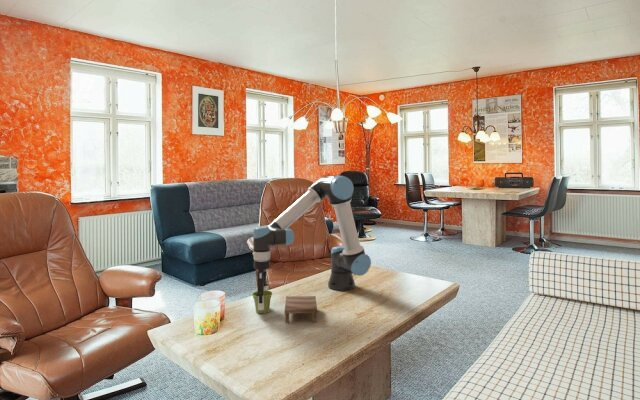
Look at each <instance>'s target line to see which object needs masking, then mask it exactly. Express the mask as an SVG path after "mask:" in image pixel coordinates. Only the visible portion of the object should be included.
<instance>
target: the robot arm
mask: <svg viewBox="0 0 640 400" xmlns="http://www.w3.org/2000/svg"><path fill="white" fill-rule="evenodd" d="M306 190H307V191H306V192H305V193H303V195H302V196H300V197H299V198H298V199H297V200H296V201H294V203H292V204H291V205H290V206H289V207H288V208H287V209H286V210H284V211H283V212H282V213H281V214H280V215H279V216H278V217H277V218H275V219H274V220H272V222H270V223H269V224H266V225H261V226H259V225H258V226H255V227H254V228H253V230H252V231H253V233H252V239H253V242H252V243H253V252H252V256H253V260H254V261H253V269H254V270H257V294H256V296H258V310H264V291H267V287H268V286H269V283H268V282H267V270H269V269H270V267H271V247H277V246H288V245H292V244H293V243H294V241H295V234H294V231H293V230H292V229H291V228H289V227H290V226H292V224H294V223H295V222H296V221H297V220H299V218H300V217H302V216H303V215H304V214H305V213H306V212H307V211H308V210H309V209H311V208H312V207H313V206H314V205H315V204H316V203H320V202H321V201H323V200H325V199H327V198H328V201H329V202H328V203H329V205H331V206H333V209H334V213H335V217H336V221H337V224H338V228H339V233H340V238H341V241H342V245H338V246H334V247H331V250H330V257H331V258H330V259H331V260H330V261H331V263H330V266H331V268H330V272H331V273H330V275H329V279H328V281H327V283H328V284H327V287H328V288H329V289H331V290H334V291H350V290H353V289H355V287H356V282H355V279H354V276H363V275H365V274H367V273H368V272H369V269H370V268H371V265H372V259H371V258H370V256H369V255H368V254H366V252H365V251H366V250H365V247H364V246H363V245H361V243H360V240H359V235H358V232H357V231H358V230H357V227H356V222H355V219H354V214H353V210H352V205H351V202H352V199H353V197H352V196H353V193H354V191H355V190H354V183H353V181H352V180H351V179H350V178H349V177H347V176H343V175H328V174H327V175H324V176H322V177H319V179H317V180H316V181H315V182H313V183H312V184H311V185H310V186H309V187H307V189H306Z"/></svg>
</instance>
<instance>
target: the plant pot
mask: <svg viewBox="0 0 640 400" xmlns="http://www.w3.org/2000/svg"><path fill="white" fill-rule="evenodd" d="M257 291H258V290H257ZM257 291H254V292H252V293H251V295H252V298H253V300H254V301H253V302H254V306H255V313H257V314H267V313H269V311H270V306H271V298H272V295H273V292H272V291H270V290H266V291H264V310H258V296H256V294H257Z"/></svg>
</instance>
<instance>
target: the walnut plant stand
mask: <svg viewBox="0 0 640 400" xmlns="http://www.w3.org/2000/svg"><path fill="white" fill-rule="evenodd" d="M284 304H285V305H284V315H285V316H284V321H285V322H284V323H285V324H289V323H290V314H309V313H310V314H312V323H317V321H318V320H317V318H318V317H317V313H318V306H317V297H316V295H302V296H301V295H296V296H295V295H294V296H292V295H290V296H289V295H287V296H285V303H284Z"/></svg>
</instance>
